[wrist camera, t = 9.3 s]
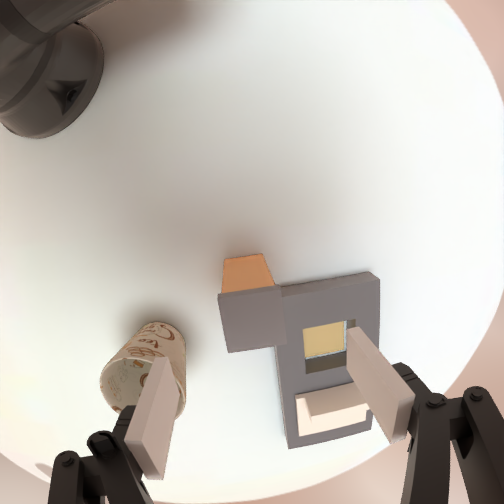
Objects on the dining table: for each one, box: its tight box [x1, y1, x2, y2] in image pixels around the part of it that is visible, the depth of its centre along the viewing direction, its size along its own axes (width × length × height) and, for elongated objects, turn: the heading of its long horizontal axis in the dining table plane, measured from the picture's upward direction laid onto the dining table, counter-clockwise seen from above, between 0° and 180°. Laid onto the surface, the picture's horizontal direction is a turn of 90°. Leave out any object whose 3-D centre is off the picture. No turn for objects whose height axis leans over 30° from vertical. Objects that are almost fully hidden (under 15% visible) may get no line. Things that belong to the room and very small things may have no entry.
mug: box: [100, 322, 186, 420], centre depth 30 cm, size 8×13×10 cm, turn 166°
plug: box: [217, 254, 287, 353], centre depth 28 cm, size 4×4×12 cm
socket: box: [274, 272, 380, 449], centre depth 35 cm, size 23×12×3 cm, turn 8°
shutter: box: [295, 382, 370, 436], centre depth 33 cm, size 7×9×4 cm
